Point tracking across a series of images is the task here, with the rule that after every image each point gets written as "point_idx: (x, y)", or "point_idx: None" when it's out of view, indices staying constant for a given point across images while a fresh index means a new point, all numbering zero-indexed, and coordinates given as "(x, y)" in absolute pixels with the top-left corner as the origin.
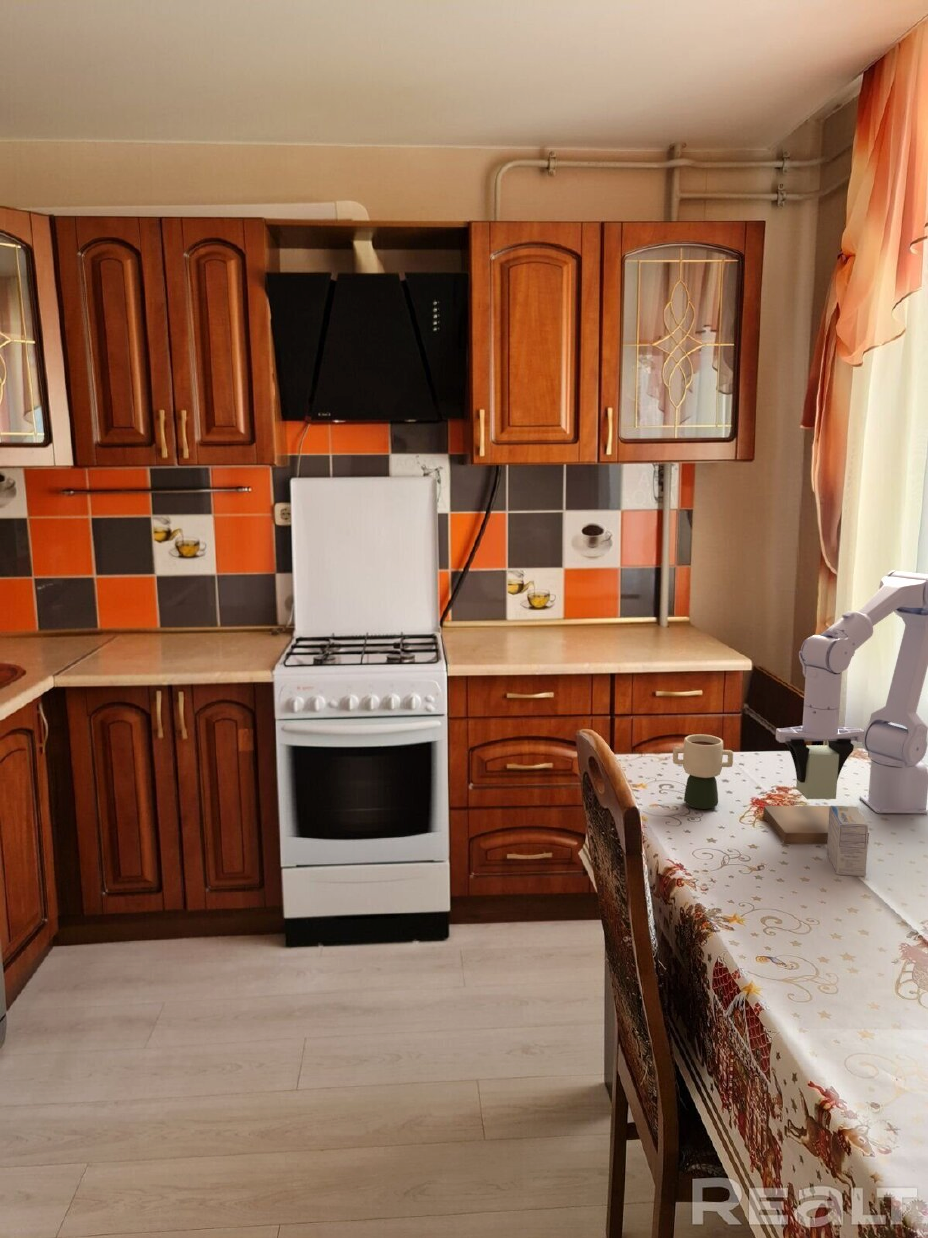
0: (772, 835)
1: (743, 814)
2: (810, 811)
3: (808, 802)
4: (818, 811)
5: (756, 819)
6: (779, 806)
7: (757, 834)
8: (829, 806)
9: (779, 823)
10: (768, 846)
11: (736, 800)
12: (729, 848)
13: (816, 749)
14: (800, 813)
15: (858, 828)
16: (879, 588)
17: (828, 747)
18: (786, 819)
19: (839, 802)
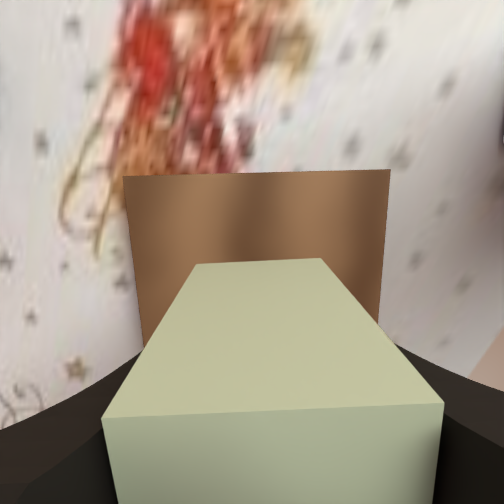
0: (137, 308)
1: (78, 161)
2: (267, 222)
3: (322, 38)
4: (294, 221)
5: (112, 201)
6: (175, 181)
7: (98, 304)
8: (348, 175)
9: (144, 318)
10: (114, 369)
11: (68, 25)
12: (19, 382)
13: None
14: (229, 240)
15: None
16: None
17: (420, 471)
18: (172, 289)
19: (432, 35)
